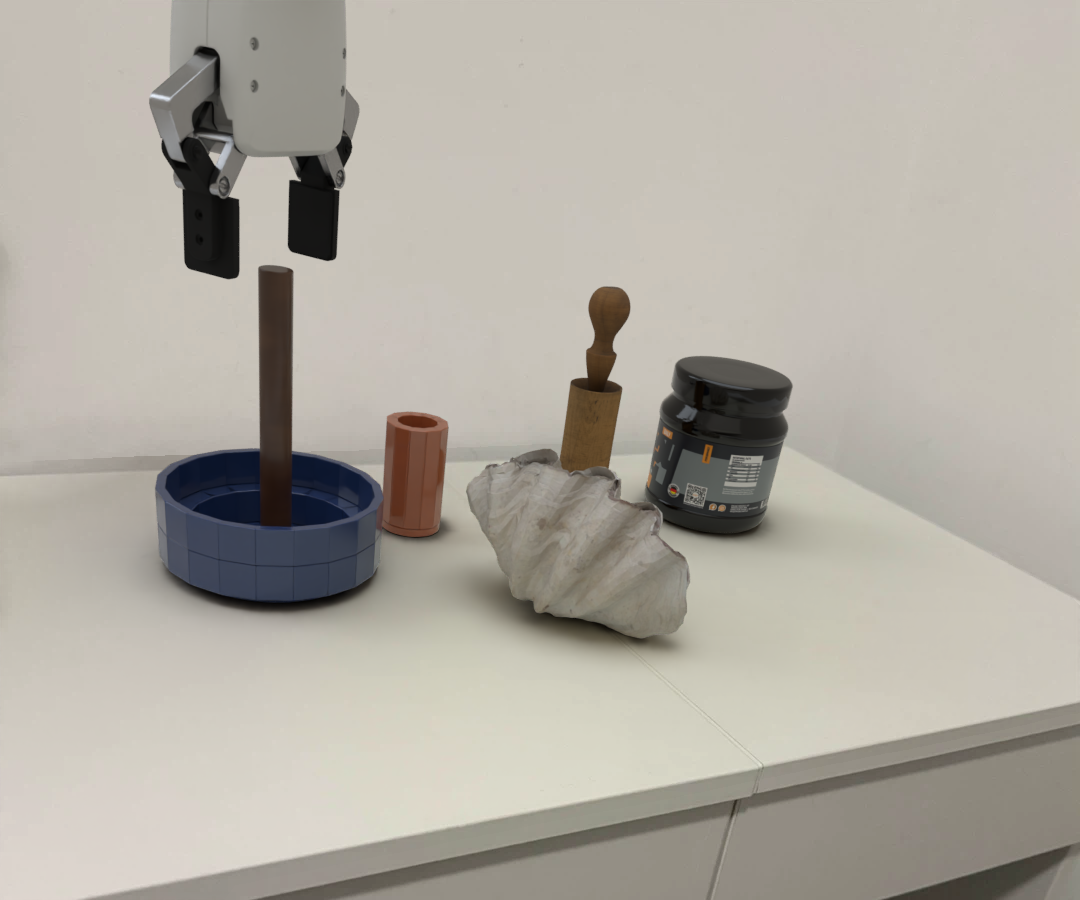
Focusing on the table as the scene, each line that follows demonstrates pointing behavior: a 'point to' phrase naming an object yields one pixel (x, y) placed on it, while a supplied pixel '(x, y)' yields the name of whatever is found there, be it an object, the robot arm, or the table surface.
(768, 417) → the supplement container
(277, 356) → the stick
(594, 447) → the mortar and pestle
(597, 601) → the seashell
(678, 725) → the table surface
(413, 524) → the holder
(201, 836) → the table surface
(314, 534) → the bowl
